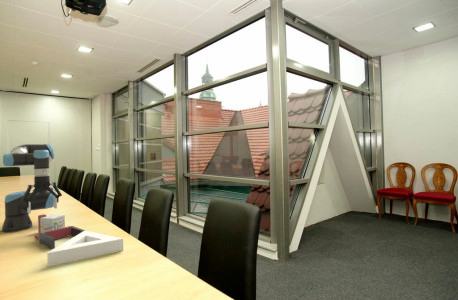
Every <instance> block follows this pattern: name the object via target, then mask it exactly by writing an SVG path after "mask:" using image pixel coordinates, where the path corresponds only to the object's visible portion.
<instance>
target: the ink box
mask: <svg viewBox="0 0 458 300" xmlns="http://www.w3.org/2000/svg"><path fill="white" fill-rule="evenodd" d="M40 225H41V233H44V232H47V231H51V230H55V229H60V228H64V227H66V215H65V214H57V213H56V214H50V215H46V217H43V218H40Z"/></svg>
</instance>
